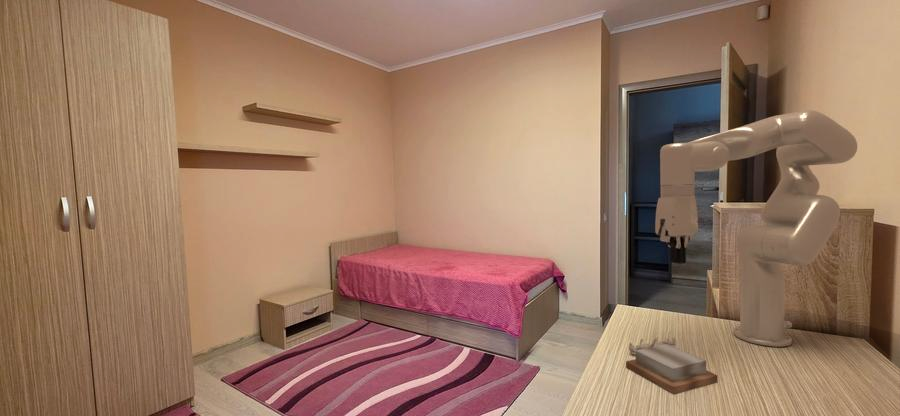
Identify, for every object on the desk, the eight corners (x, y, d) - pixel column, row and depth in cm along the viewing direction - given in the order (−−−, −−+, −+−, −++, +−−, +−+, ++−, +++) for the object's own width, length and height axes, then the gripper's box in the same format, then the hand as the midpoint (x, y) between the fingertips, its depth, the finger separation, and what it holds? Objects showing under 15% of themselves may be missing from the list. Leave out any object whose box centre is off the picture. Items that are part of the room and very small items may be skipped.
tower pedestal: (666, 357, 96) (666, 340, 96) (717, 381, 84) (717, 362, 84) (626, 367, 92) (625, 349, 92) (673, 394, 80) (673, 373, 79)
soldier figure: (681, 336, 97) (635, 331, 97) (685, 356, 95) (638, 352, 95) (664, 339, 104) (621, 335, 104) (667, 358, 102) (623, 354, 102)
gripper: (685, 190, 103) (685, 257, 104) (642, 193, 98) (643, 263, 99) (712, 190, 96) (712, 262, 97) (668, 193, 91) (669, 268, 92)
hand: (678, 262), depth 98 cm, fingers closed
